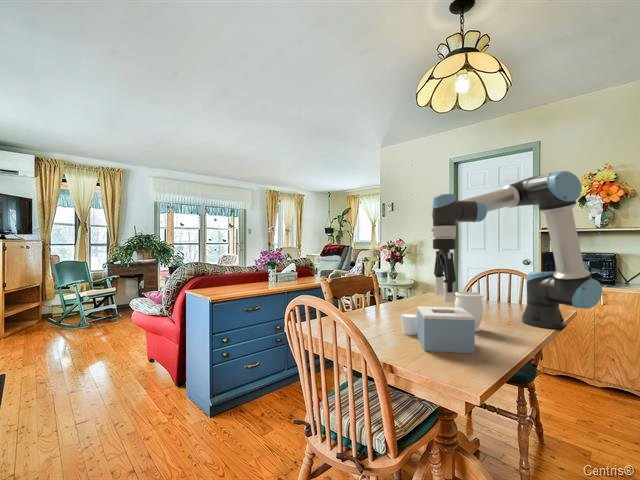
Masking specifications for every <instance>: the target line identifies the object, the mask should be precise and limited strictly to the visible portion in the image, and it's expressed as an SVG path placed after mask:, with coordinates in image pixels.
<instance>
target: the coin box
mask: <svg viewBox="0 0 640 480" xmlns="http://www.w3.org/2000/svg"><path fill="white" fill-rule="evenodd" d="M416 309H417V310H416V312H417V313H416V315H417V334H416V338H417V340H418V342H419V344H420V346H421V348H422V349H423V351H424V352H439V353H456V354H457V353H459V354H475V353H476V352H475V349H476V348H475V347H476V345H475V344H476V343H475V341H476V338H475V336H476V335H475V334H476V332H475V317H474V316H472V315H471V314H470V313H468V312H467V311H466V310H464V309H463V308H459V307H455V306H454V307H453V306H452V307H450V306H424V305H423V306H419V305H418V306H417V307H416Z"/></svg>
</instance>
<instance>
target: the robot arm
mask: <svg viewBox="0 0 640 480" xmlns="http://www.w3.org/2000/svg"><path fill="white" fill-rule="evenodd" d="M582 186H583V185H582V183H581V180H580V179H579V177H578V176H577V175H576V174H574V173H573V172H572V171H569V170H563V171H562V170H560V171H553V172H549V173H545V174H541V175H536V176H530V177H528V178H525V179H522V180H518V181H516V182H513V183H511V184H509V185H505V186H503V187H502V188H501V189H499V190H494V191H491V192H487V193H484V194H480V195H477V196H476V195H475V196H472V197H468V198H464V199H462V200H457V198H456V197H457V196H456V195H455V194H453V193H442V194H436V195H434V196H433V198H432V199H433V200H432V210H431V218H432V228H431V230H430V231H431V232H432V237H433V239H432V249H433V250H436V251H435V263H434V269H433V271H434V272H433V275H434V277H435V283H434V285H435V289H434V292H435V295H438V296H439V295H440V296H444V303H455V298H454V296H455V291H454V289H455V288H454V287H455V286H454V285H455V284H454V283H455V282H457V277H456V269H455V263H454V262H455V261H454V253H453V252H450V251H451V250H455V249H456V246H457V245H456V243H457V242H456V239H455V238H456V237H457V230H456V229H457V227H456V226H457V225H456V224H457V223H467V222H468V223H479V222H483V221H484V220H485V219H486V217H487V215H488V213H489V212H491V211H496V210H500V209H503V208H510V209H511V208H515V207H521V206H523V207H524V206H538V210H539V212H541V213H543V214H544V217H545V221H546V225H547V230H548V234H549V241H550V243H551V244H550V245H551V249H552V253H553V259H554V264H555V268H556V271H537V272H536V271H533V272H529V273H528V274H527V275H526V306H525V309H524V311H523V312H522V316H521V317H522V318H521V322H523V323H524V324H526V325H530V326H532V327H537V328H542V329H543V328H545V329H563V328H564V327H565V321H564V320H565V319H564V318H563V315H562V311H561V308H560V305H563V306H569V307H573V308H576V309H584V310H585V309H588V310H589V309H592V308H593V307H595V306H597V305H598V303H599V302H600V300H601V299H602V298H601V297H602V296H603V287H602V284H601V283H600V281H598V280H596V279H594V278H592V274H591V272H590V271H589V270H588V269H586V268H585V265H584V261H583V260H584V259H583V256H582V251H581V245H580V240H579V236H578V233H577V232H578V230H577V226H576V221H575V216H574V212H573V208H574V207H575V206H576V205H577V201H576V200H578V199H579V198H580V197H581V196H582V194H581V193H582V192H583V189H582V188H583V187H582Z"/></svg>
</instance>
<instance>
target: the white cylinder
mask: <svg viewBox="0 0 640 480" xmlns="http://www.w3.org/2000/svg"><path fill="white" fill-rule="evenodd" d="M400 321H401V332H402V334H403V335H409V336H415V335H417V314H415V313H402V314H400Z"/></svg>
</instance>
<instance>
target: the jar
mask: <svg viewBox="0 0 640 480" xmlns="http://www.w3.org/2000/svg"><path fill="white" fill-rule="evenodd" d="M454 296H456V297H455V299H454V307H459V308H463V309H464V310H466V311H467V312H468V313H470V314H471V315H472V316H474V317H475V333H476V332H479V331H481V327H479V326H480V325H481V323H482V319H483V313H484V304H483V300H482V298H484V294H483V293H481V292H476V291H475V292H474V291H473V292H472V291H456V292H455V291H454Z"/></svg>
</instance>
